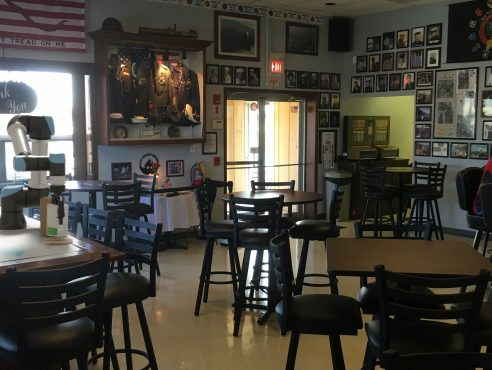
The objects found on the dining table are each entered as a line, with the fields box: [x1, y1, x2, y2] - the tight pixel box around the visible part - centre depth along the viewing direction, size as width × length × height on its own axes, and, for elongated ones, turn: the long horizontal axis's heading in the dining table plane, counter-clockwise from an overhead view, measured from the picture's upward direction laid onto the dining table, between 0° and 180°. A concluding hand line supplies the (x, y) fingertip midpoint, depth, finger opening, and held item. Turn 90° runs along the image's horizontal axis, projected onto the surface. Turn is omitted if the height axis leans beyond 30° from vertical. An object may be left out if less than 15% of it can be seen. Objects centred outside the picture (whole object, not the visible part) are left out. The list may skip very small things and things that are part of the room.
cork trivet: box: [42, 237, 74, 246], centre depth 275 cm, size 14×14×1 cm
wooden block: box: [39, 196, 66, 237], centre depth 293 cm, size 10×10×20 cm
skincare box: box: [47, 203, 69, 238], centre depth 274 cm, size 8×7×16 cm
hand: (57, 229), depth 274 cm, fingers closed on skincare box, 10 cm apart
